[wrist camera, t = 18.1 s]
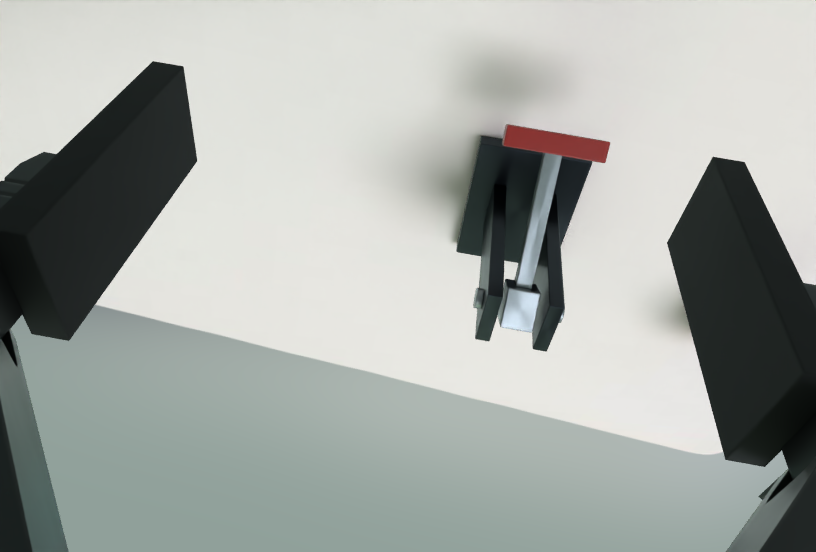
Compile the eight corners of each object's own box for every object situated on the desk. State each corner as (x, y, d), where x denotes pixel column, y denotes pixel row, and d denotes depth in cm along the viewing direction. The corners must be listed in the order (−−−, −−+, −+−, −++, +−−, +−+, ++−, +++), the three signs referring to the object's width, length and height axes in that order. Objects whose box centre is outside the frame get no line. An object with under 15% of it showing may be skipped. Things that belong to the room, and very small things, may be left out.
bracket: (481, 135, 47) (470, 251, 37) (591, 154, 47) (609, 276, 37) (457, 243, 55) (442, 364, 45) (551, 260, 54) (558, 385, 44)
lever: (505, 123, 40) (508, 124, 38) (603, 140, 40) (612, 142, 38) (467, 310, 44) (468, 321, 41) (557, 326, 44) (563, 338, 41)
